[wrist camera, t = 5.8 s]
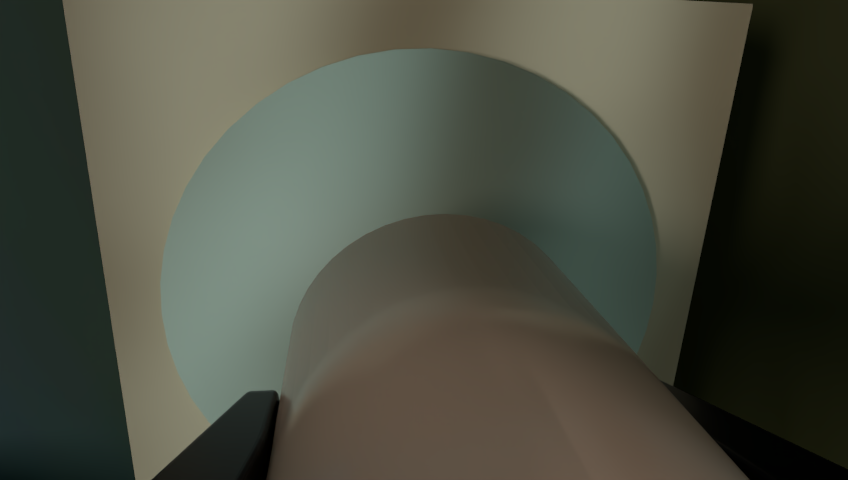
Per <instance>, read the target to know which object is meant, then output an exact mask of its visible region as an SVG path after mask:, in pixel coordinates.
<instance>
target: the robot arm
mask: <svg viewBox="0 0 848 480" xmlns="http://www.w3.org/2000/svg"><path fill="white" fill-rule="evenodd" d="M660 381H661V380H660ZM661 382H662V383H663V384H664V385H665V386H666V387H667V389H668V390H669V391H670V392H671V393H672V394H673V395H674V396H675V397H676V399H677V400H678V401H679V402H680V403H681V404H682V405H683V406H684V407H685V409H686V410H687V411H688V412H689V413H690V414H691V415H692V416H693V417H694V419H695V420H696V421H697V422H698V423H699V424H700V425H701V426H702V427H703V428H704V430H705V431H706V432H707V433H708V434H709V435H710V436H711V437H712V438H713V440H714V441H715V442H716V443H717V444H718V445H719V446H720V447H721V448H722V450H723V451H724V452H725V453H726V454H727V455H728V456H729V457H730V458H731V460H732V461H733V462H734V463H735V464H736V465H737V466H738V467H739V468H740V470H741V471H742V472H743V473H744V474H745V475H746V476H747V477H748V478H749V480H848V469H846V468H844V467H842V466H840V465H837V464H835V463H833V462H831V461H829V460H827V459H825V458H823V457H821V456H819V455H816V454H814V453H812V452H810V451H808V450H806V449H804V448H802V447H800V446H798V445H795V444H793V443H791V442H789V441H787V440H785V439H783V438H781V437H779V436H777V435H774V434H772V433H770V432H768V431H766V430H764V429H762V428H760V427H758V426H756V425H753V424H751V423H749V422H747V421H745V420H743V419H741V418H739V417H737V416H735V415H732V414H730V413H728V412H726V411H724V410H722V409H720V408H718V407H716V406H714V405H711V404H709V403H707V402H705V401H703V400H701V399H699V398H697V397H695V396H693V395H690V394H688V393H686V392H684V391H682V390H680V389H678V388H676V387H674V386H672V385H670V384H667V383H665V382H663V381H661ZM278 406H279V395H278V393H277V391H275V390H261V391H249V392H247V393H245V394H244V395H243V396H242V397H241V398H240V399H239V400H238V401H237V402H235V403H234V404H233V405H232V406H231V407H230V408H229V409H228V410H227V411H226V412H225V413H223V414H222V415H221V416H220V417H219V418H218V419H217V420H216V421H215V422H214V423H213V424H211V425H210V426H209V427H208V428H207V429H206V430H205V431H204V432H203V433H202V434H201V435H199V436H198V437H197V438H196V439H195V440H194V441H193V442H192V443H191V444H190V445H189V446H187V447H186V448H185V449H184V450H183V451H182V452H181V453H180V454H179V455H178V456H177V457H175V458H174V459H173V460H172V461H171V462H170V463H169V464H168V465H167V466H166V467H165V468H164V469H162V470H161V471H160V472H159V473H158V474H157V475H156V476H155V477H154V478H153V479H152V480H266V476H267V470H268V464H269V458H270V452H271V446H272V441H273V435H274V429H275V423H276V417H277V411H278Z"/></svg>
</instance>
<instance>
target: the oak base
mask: <svg viewBox="0 0 848 480" xmlns="http://www.w3.org/2000/svg"><path fill="white" fill-rule="evenodd" d="M63 7H64V13H65V20H66V26H67V33H68V39H69V46H70V52H71V59H72V66H73V72H74V79H75V85H76V92H77V98H78V105H79V112H80V118H81V125H82V131H83V138H84V144H85V151H86V158H87V164H88V171H89V177H90V184H91V190H92V197H93V203H94V210H95V217H96V223H97V230H98V236H99V243H100V249H101V256H102V263H103V269H104V276H105V282H106V289H107V295H108V302H109V309H110V315H111V322H112V328H113V335H114V341H115V348H116V355H117V361H118V368H119V374H120V381H121V387H122V394H123V400H124V407H125V414H126V420H127V427H128V433H129V440H130V446H131V453H132V460H133V466H134V473H135V479H136V480H152V479H153V478H154V477H155V476H156V475H157V474H158V473H159V472H160V471H161V470H162V469H164V468H165V467H166V466H167V465H168V464H169V463H170V462H171V461H172V460H173V459H174V458H175V457H177V456H178V455H179V454H180V453H181V452H182V451H183V450H184V449H185V448H186V447H187V446H189V445H190V444H191V443H192V442H193V441H194V440H195V439H196V438H197V437H198V436H199V435H201V434H202V433H203V432H204V431H205V430H206V429H207V428H208V427H209V426H210V425H211V424H213V423H214V422H215V421H216V420H217V419H218V418H219V417H220V416H221V415H222V414H223V413H225V412H226V411H227V410H228V409H229V408H230V407H231V406H232V405H233V404H234V403H235V402H237V401H238V400H239V399H240V398H241V397H242V396H243V395H244V394H245V393H247V392H249V391H261V390H275V391H277V393H278V395H279V400H280V394H281V388H282V382H283V377H284V371H285V365H286V359H287V353H288V347H289V342H290V336H291V331H292V325H293V321H294V318H295V316H296V313H297V310H298V307H299V304H300V303H301V301H302V299H303V297H304V295H305V293H306V291H307V289H308V287H309V286H310V285H311V283H312V282H313V280H314V279H315V278H316V276H317V275H318V273H319V272H320V271H321V270H322V269H323V268H324V267H325V266H326V265H327V264H328V262H329V261H330V260H331V259H332V258H333V257H335V256H336V255H337V254H338V253H339V252H341V251H342V250H343V249H344V248H345V247H347V246H348V245H349V244H351V243H353V242H354V241H356V240H357V239H359V238H360V237H362V236H364V235H365V234H367V233H369V232H372V231H374V230H376V229H378V228H380V227H382V226H384V225H388V224H391V223H394V222H397V221H400V220H403V219H407V218H413V217H418V216H423V215H436V214H455V215H467V216H472V217H477V218H482V219H487V220H489V221H492V222H495V223H498V224H501V225H504V226H506V227H508V228H510V229H512V230H514V231H516V232H518V233H520V234H521V235H523V236H524V237H526V238H527V239H529V240H530V241H532V242H533V243H534V244H536V245H537V246H538V247H539V248H540V249H541V250H542V251H543V252H544V253H545V254H546V255H547V256H548V257H549V258H550V259H551V260H552V261H553V262H554V263H555V264H556V265H557V267H558V268H559V269H560V270H561V271H562V272H563V273H564V274H565V275H566V277H567V278H568V279H569V280H570V281H571V282H572V283H573V284H574V285H575V287H576V288H577V289H578V290H579V291H580V292H581V293H582V294H583V295H584V296H585V298H586V299H587V300H588V301H589V302H590V303H591V304H592V305H593V306H594V308H595V309H596V310H597V311H598V312H599V313H600V314H601V315H602V316H603V318H604V319H605V320H606V321H607V322H608V323H609V324H610V325H611V326H612V328H613V329H614V330H615V331H616V332H617V333H618V334H619V335H620V336H621V338H622V339H623V340H624V341H625V342H626V343H627V344H628V345H629V346H630V348H631V349H632V350H633V351H634V352H635V353H636V354H637V355H638V356H639V358H640V359H641V360H642V361H643V362H644V363H645V364H646V365H647V366H648V367H649V369H650V370H651V371H652V372H653V373H654V374H655V375H656V376H657V377H658V379H659V380H661V381H663V382H665V383H667V384H670V385H672V386H673V384H674V379H675V374H676V369H677V365H678V360H679V355H680V350H681V345H682V341H683V336H684V331H685V326H686V322H687V317H688V312H689V307H690V303H691V298H692V293H693V288H694V284H695V279H696V274H697V269H698V265H699V260H700V255H701V250H702V245H703V241H704V236H705V231H706V226H707V222H708V217H709V212H710V207H711V203H712V198H713V193H714V188H715V184H716V179H717V174H718V169H719V165H720V160H721V155H722V150H723V145H724V141H725V136H726V131H727V126H728V122H729V117H730V112H731V107H732V103H733V98H734V93H735V88H736V84H737V79H738V74H739V69H740V65H741V60H742V55H743V50H744V45H745V41H746V36H747V31H748V26H749V22H750V17H751V12H752V7H753V4H742V3H723V2H704V1H686V0H63Z"/></svg>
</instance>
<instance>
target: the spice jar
mask: <svg viewBox="0 0 848 480" xmlns="http://www.w3.org/2000/svg"><path fill="white" fill-rule="evenodd" d="M266 480H749V478H748V477H747V476H746V475H745V474H744V473H743V472H742V471H741V470H740V468H739V467H738V466H737V465H736V464H735V463H734V462H733V461H732V460H731V458H730V457H729V456H728V455H727V454H726V453H725V452H724V451H723V450H722V448H721V447H720V446H719V445H718V444H717V443H716V442H715V441H714V440H713V438H712V437H711V436H710V435H709V434H708V433H707V432H706V431H705V430H704V428H703V427H702V426H701V425H700V424H699V423H698V422H697V421H696V420H695V419H694V417H693V416H692V415H691V414H690V413H689V412H688V411H687V410H686V409H685V407H684V406H683V405H682V404H681V403H680V402H679V401H678V400H677V399H676V397H675V396H674V395H673V394H672V393H671V392H670V391H669V390H668V389H667V387H666V386H665V385H664V384H663V383H662V382H661V381H660V380H659V379H658V377H657V376H656V375H655V374H654V373H653V372H652V371H651V370H650V369H649V367H648V366H647V365H646V364H645V363H644V362H643V361H642V360H641V359H640V358H639V356H638V355H637V354H636V353H635V352H634V351H633V350H632V349H631V348H630V346H629V345H628V344H627V343H626V342H625V341H624V340H623V339H622V338H621V336H620V335H619V334H618V333H617V332H616V331H615V330H614V329H613V328H612V326H611V325H610V324H609V323H608V322H607V321H606V320H605V319H604V318H603V316H602V315H601V314H600V313H599V312H598V311H597V310H596V309H595V308H594V306H593V305H592V304H591V303H590V302H589V301H588V300H587V299H586V298H585V296H584V295H583V294H582V293H581V292H580V291H579V290H578V289H577V288H576V287H575V285H574V284H573V283H572V282H571V281H570V280H569V279H568V278H567V277H566V275H565V274H564V273H563V272H562V271H561V270H560V269H559V268H558V267H557V265H556V264H555V263H554V262H553V261H552V260H551V259H550V258H549V257H548V256H547V255H546V254H545V253H544V252H543V251H542V250H541V249H540V248H539V247H538V246H537V245H536V244H534V243H533V242H532V241H530V240H529V239H527V238H526V237H524V236H523V235H521V234H520V233H518V232H516V231H514V230H512V229H510V228H508V227H506V226H504V225H501V224H498V223H495V222H492V221H489V220H487V219H482V218H477V217H472V216H467V215H455V214H436V215H423V216H418V217H413V218H407V219H403V220H400V221H397V222H394V223H391V224H388V225H384V226H382V227H380V228H378V229H376V230H374V231H372V232H369V233H367V234H365V235H364V236H362V237H360V238H359V239H357V240H356V241H354V242H353V243H351V244H349V245H348V246H347V247H345V248H344V249H343V250H342V251H341V252H339V253H338V254H337V255H336V256H335V257H333V258H332V259H331V260H330V261H329V262H328V264H327V265H326V266H325V267H324V268H323V269H322V270H321V271H320V272H319V273H318V275H317V276H316V278H315V279H314V280H313V282H312V283H311V285H310V286H309V287H308V289H307V291H306V293H305V295H304V297H303V299H302V301H301V303H300V304H299V307H298V310H297V313H296V316H295V318H294V321H293V325H292V331H291V336H290V342H289V347H288V353H287V359H286V365H285V371H284V377H283V382H282V388H281V394H280V400H279V406H278V411H277V417H276V423H275V429H274V435H273V441H272V446H271V452H270V458H269V464H268V470H267V476H266Z"/></svg>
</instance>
